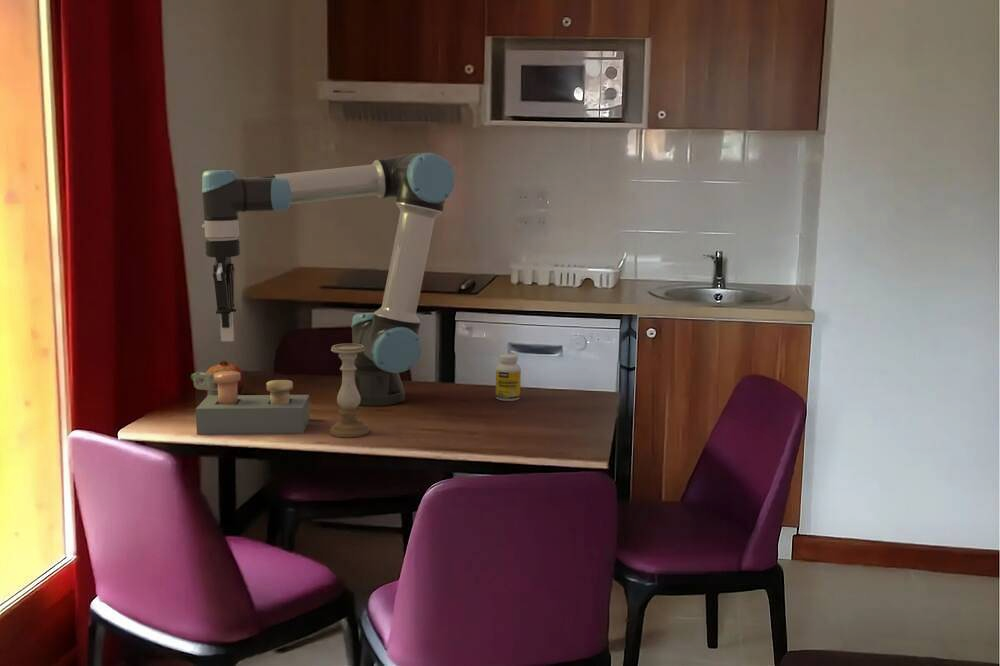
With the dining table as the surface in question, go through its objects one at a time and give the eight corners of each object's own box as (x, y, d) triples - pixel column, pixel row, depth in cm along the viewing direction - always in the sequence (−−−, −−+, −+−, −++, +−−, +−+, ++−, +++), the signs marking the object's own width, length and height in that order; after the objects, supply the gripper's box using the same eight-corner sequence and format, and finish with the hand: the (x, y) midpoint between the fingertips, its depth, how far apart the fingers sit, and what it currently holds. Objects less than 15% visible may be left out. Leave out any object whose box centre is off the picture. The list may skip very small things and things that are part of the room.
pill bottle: (491, 400, 268) (492, 356, 266) (501, 395, 274) (501, 352, 272) (514, 402, 265) (515, 358, 263) (523, 397, 271) (524, 354, 269)
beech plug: (295, 418, 243) (294, 379, 241) (291, 425, 237) (290, 385, 236) (269, 418, 243) (268, 379, 241) (265, 425, 237) (264, 385, 235)
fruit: (250, 399, 266) (249, 362, 264) (213, 404, 260) (211, 366, 258) (236, 391, 274) (235, 355, 273) (199, 396, 269) (198, 359, 267)
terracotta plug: (243, 410, 242) (242, 370, 240) (239, 416, 236) (237, 376, 234) (218, 410, 241) (216, 371, 240) (212, 416, 235) (211, 376, 234)
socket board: (309, 418, 247) (309, 394, 246) (303, 433, 234) (302, 407, 233) (208, 419, 245) (207, 395, 244) (196, 434, 232) (195, 408, 231)
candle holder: (371, 436, 232) (370, 349, 229) (332, 439, 230) (331, 350, 226) (365, 426, 240) (364, 342, 237) (327, 429, 238) (326, 343, 234)
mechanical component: (229, 416, 249) (228, 376, 247) (191, 413, 251) (189, 373, 249) (235, 413, 252) (233, 373, 250) (197, 410, 254) (195, 371, 252)
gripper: (211, 236, 238) (216, 336, 242) (199, 241, 225) (205, 346, 229) (243, 236, 238) (248, 335, 243) (233, 241, 226) (239, 345, 230)
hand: (227, 340), depth 236 cm, fingers closed
